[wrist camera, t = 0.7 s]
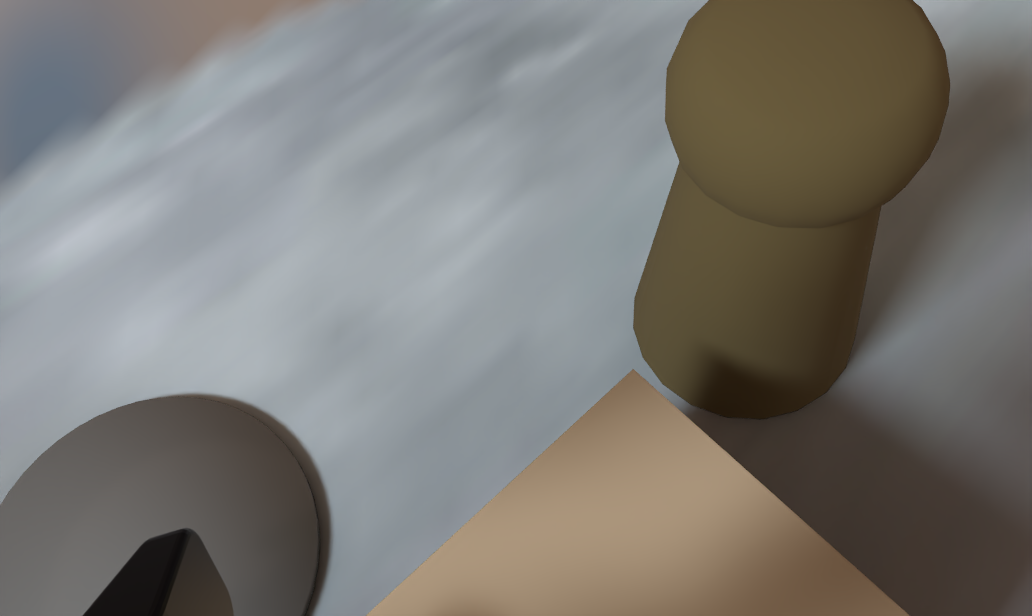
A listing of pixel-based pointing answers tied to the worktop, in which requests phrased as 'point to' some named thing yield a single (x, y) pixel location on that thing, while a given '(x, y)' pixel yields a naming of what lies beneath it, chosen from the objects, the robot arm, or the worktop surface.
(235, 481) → the slate coaster
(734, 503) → the lid
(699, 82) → the cork
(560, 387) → the worktop surface
